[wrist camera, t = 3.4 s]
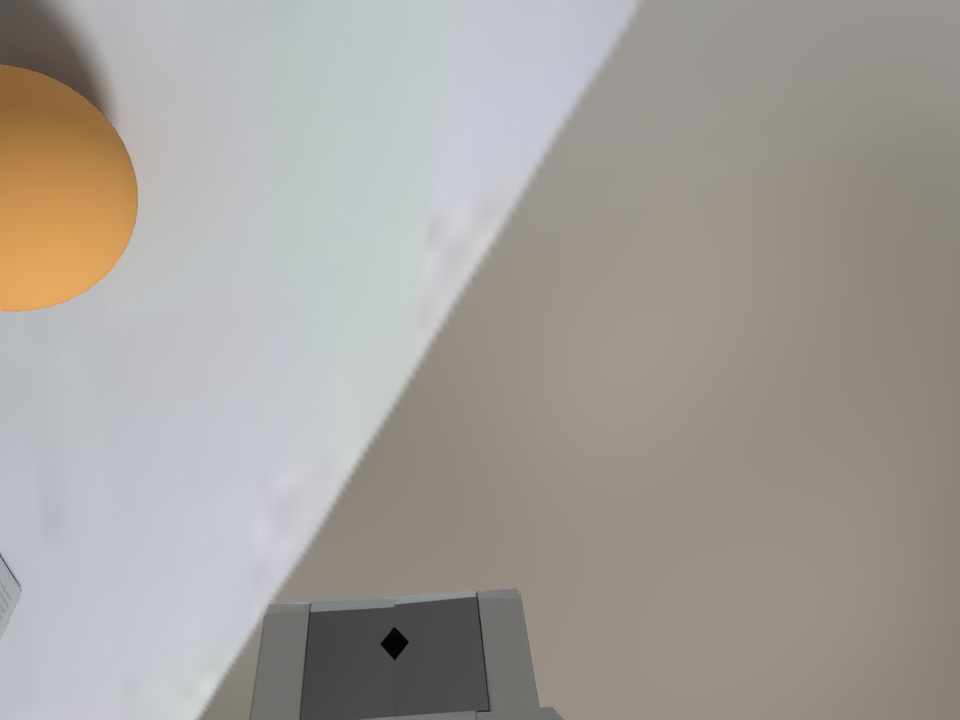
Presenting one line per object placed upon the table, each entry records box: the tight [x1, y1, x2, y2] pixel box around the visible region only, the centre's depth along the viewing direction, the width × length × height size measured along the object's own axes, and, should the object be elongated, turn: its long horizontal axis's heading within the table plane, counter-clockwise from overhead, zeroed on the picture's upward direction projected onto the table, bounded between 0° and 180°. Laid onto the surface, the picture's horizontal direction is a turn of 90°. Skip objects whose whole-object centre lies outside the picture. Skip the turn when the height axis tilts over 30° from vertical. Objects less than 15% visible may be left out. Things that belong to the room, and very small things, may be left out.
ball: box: [0, 64, 138, 312], centre depth 21 cm, size 6×6×6 cm
